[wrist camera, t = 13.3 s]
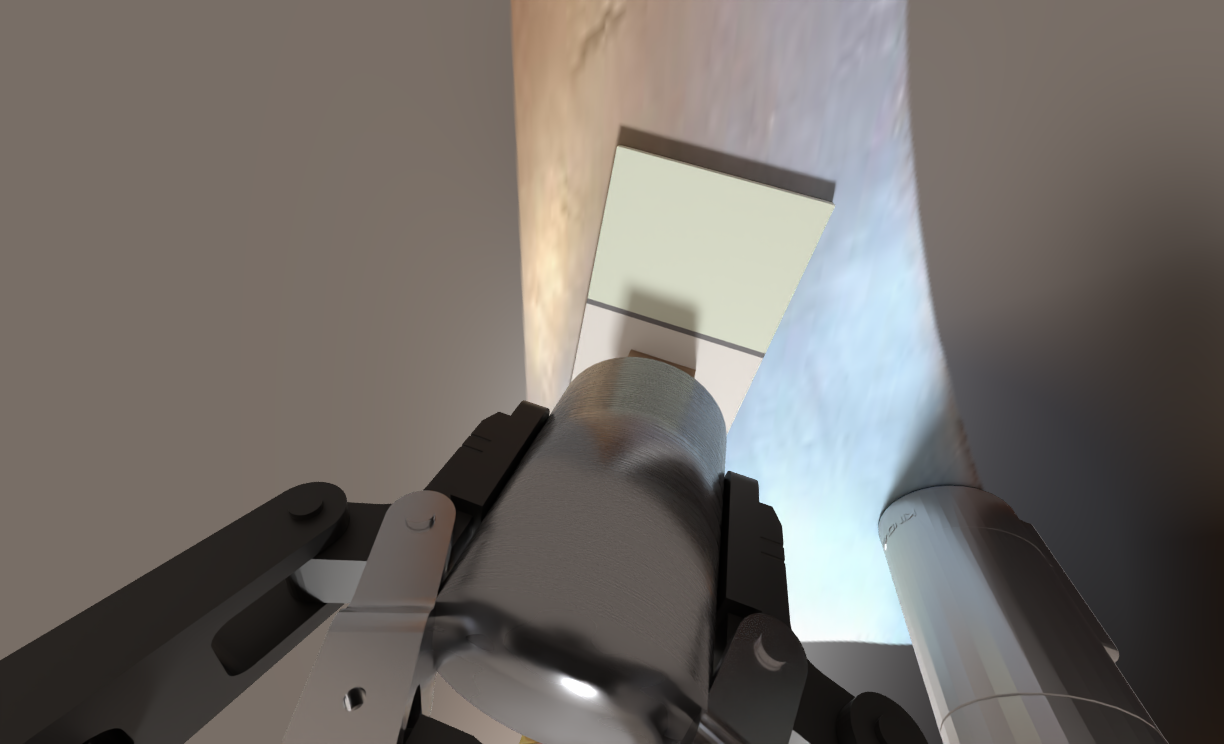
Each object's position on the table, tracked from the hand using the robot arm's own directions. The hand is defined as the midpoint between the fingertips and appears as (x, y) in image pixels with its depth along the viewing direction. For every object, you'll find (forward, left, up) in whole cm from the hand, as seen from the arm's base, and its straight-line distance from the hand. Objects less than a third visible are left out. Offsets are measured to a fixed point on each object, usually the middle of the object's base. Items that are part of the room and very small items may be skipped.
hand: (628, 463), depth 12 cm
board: (0, +5, -21) cm, 21 cm away
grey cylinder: (0, 0, -1) cm, 1 cm away
